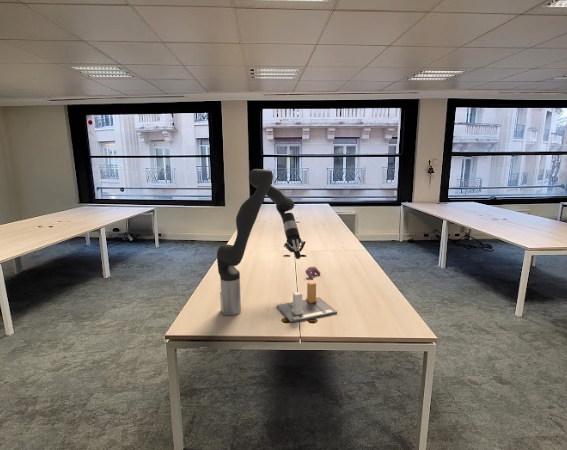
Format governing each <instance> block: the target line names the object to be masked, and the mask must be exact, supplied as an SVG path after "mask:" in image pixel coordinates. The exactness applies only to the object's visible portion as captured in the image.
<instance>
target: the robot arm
mask: <svg viewBox="0 0 567 450" xmlns="http://www.w3.org/2000/svg"><path fill="white" fill-rule="evenodd" d="M273 180H274V175H273V172H272V171H271V170H270V169H263V168H261V169H260V168H254V169H252V170H251V171H250V173H249V175H248V181H249V183H250V185H251V186H252V187H254V189H256V190H255V192H253V194H252V195H251V196H249V198H247V199H246V200H245V201H243V203H242V204H241V206H240V208H239V209H238V212H237V215H236V217H235V225H236V226H235V227H236V238H235V240H234V243H233V245H232V244H227V243H225V244H224V243H223V244H221V245H220V246H219V247H218V250H217V251H216V260H217V261H216V262H217V271H218V274H219V278H220V279H219V281H220V292H219V297H220V311H221V313H222V316H236V315H238V314H240V313H241V312H242V301H241V300H242V299H241V297H242V296H241V275H240V271H239V270H238V269H237V268H236V267H237V266H238V265H239V264H240V263H241V262H242V260H243V257H244V254H245V250H246V247H247V245H248V241H249V238H250V235H251V232H252V230H253V228H254V225H255V223H256V220H257V217H258V215H259V212H260V209H261V207H262V204H263V203H264V200H265V198H266V197H268V198H269V199H270V200H271V201H272V203H274V204H275V209H276V210H277V212H278V214H279V215H280V217H281V221H282V224H283V229H284V234H285V238H286V242H285V243H284V244H283V247H284V248H285V249H286V250H288V251H289V252H290V253H293V254H294V258H295V259H296V260H299V259H301V256H302V255H301V252H302V251H303V250H304V246H305V245H306V241H304V240H302V238H301V237H300V232H299V228H298V226H297V222H296V219H295V216H294V214H293V213H292V212H289V211H291V210H293V209H294V208H295V202H294V201H293V199H292V198H290V197H289V196H287V195H285V194H284V193H282V191H281V190H280V189H278V188H277V187H276V186H274V185H272V184H273ZM300 245H301V246H300Z"/></svg>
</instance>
